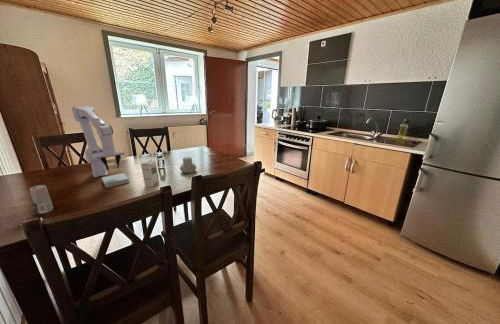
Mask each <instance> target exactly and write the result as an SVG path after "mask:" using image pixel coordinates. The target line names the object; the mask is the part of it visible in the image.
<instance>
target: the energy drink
mask: <svg viewBox="0 0 500 324" xmlns="http://www.w3.org/2000/svg"><path fill="white" fill-rule="evenodd" d="M29 194H30V197H31V200H32V202H33V205H34V208H35V211H36V212H37V214H39V215H42V214H43V215H45V214H47V213H48V214H49V213H50V212H51V211H54V210H53V209H54V205H53V203H52V199H51V196H50V194H49V191H48V188H47V186H46V185H45V184H38V185H33V186H30V187H29Z"/></svg>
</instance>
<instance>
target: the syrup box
mask: <svg viewBox="0 0 500 324" xmlns="http://www.w3.org/2000/svg"><path fill="white" fill-rule="evenodd" d="M140 166H141V167H140V168H141V172H142V177H143V182H144V186H145V187H150V188H154V187H156V186H157V185H158V184H160V178H159V173H158V165H157V161H156V160H153V159H152V160H146V161H143V162H141V163H140Z"/></svg>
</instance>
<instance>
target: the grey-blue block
mask: <svg viewBox="0 0 500 324" xmlns="http://www.w3.org/2000/svg"><path fill="white" fill-rule="evenodd" d="M101 180H102V182H103V185H104V187H105V189H106V188H107V189H108V188H111V187H115V186H119V185H125V184H127V183H128V184H129V183H130V181H129V178H128V176H127V175H126V173H125V172H123V173H118V174H112V175H109V176H108V175H106V176H101Z"/></svg>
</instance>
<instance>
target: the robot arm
mask: <svg viewBox="0 0 500 324" xmlns="http://www.w3.org/2000/svg"><path fill="white" fill-rule="evenodd" d="M71 112H72V116H73V118H74V120H75V121H76V122H79V124H80V128H81V130H82V133H83V135H84V138H85V141H86V144H87V146H88V147H87V149H86V150H85V151H84V155H85V160H86V162H88V163H89V164H90V166H91V170H92V172H91V173H92V177H93V178H97V177H104V176H108V175H109V168H108V165H107V164H108V162H107V159H108V158H111V157H114V158H115V162H116V163H117V166H118V169H119V167H120V161H121V158H122V156H126V153H125V151H116V149H115V143H114V140H113V135H114V129H113V127H112V125H111V124H107V123H106V122H105V121H103V119H102V118H100V117H98V116H97V115H96V111H95V108H94V107H93V106H92V105H83V106H82V105H81V106H80V105H79V106H75V105H74V106H72V108H71ZM91 125H92V126H93V128H95V130H96V133H97V135H98V139H99V140H100V143H101V147H100V146H99V145H98V143H97V140H96V137H95V133H94V132H93V131H94V130H93V128H92V126H91Z"/></svg>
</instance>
